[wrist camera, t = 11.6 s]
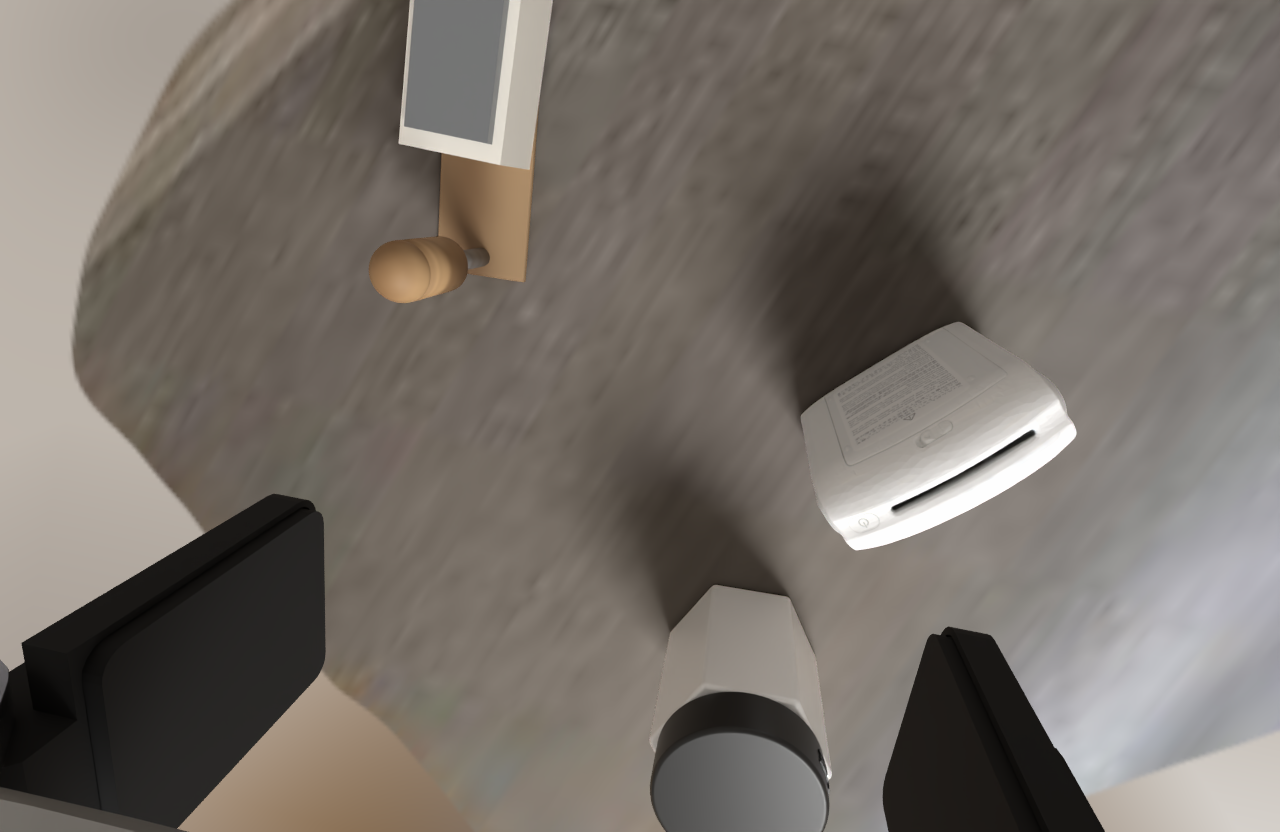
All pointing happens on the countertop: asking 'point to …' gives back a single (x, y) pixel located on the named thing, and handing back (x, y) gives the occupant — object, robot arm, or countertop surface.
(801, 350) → the countertop surface
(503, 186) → the strip
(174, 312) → the countertop surface
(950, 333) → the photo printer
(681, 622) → the jar
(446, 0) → the white and grey block
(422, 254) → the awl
